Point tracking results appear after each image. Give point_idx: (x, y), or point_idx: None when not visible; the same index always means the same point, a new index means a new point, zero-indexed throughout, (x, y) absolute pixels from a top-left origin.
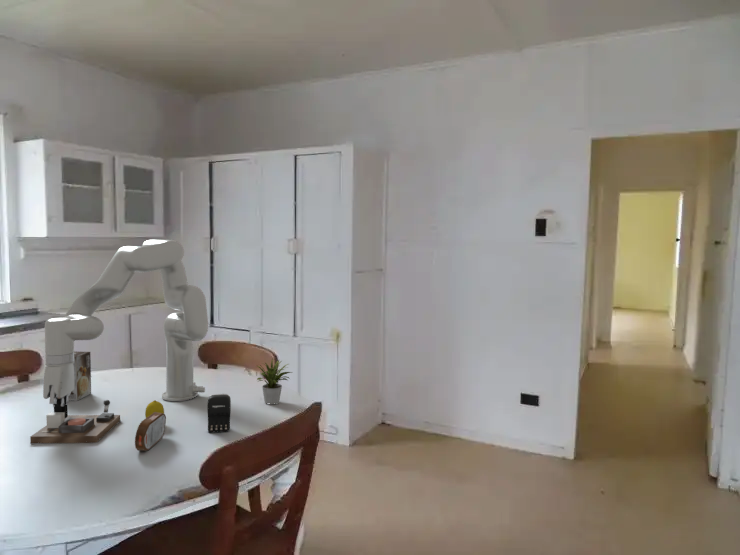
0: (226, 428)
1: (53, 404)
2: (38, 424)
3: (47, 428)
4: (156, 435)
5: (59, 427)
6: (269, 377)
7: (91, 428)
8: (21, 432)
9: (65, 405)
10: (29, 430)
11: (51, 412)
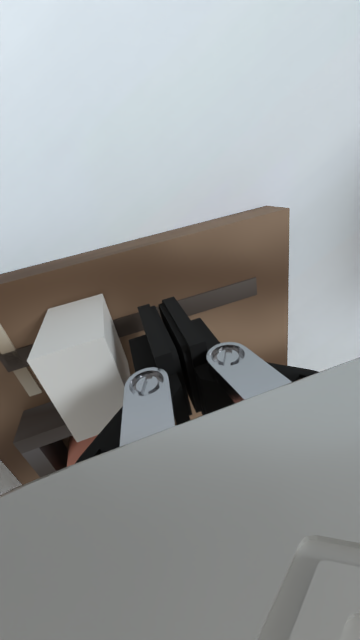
0: None
1: (124, 403)
2: (209, 78)
3: (57, 305)
4: None
5: (17, 440)
6: None
7: None
8: (33, 57)
9: (203, 408)
10: (91, 99)
11: (106, 343)
